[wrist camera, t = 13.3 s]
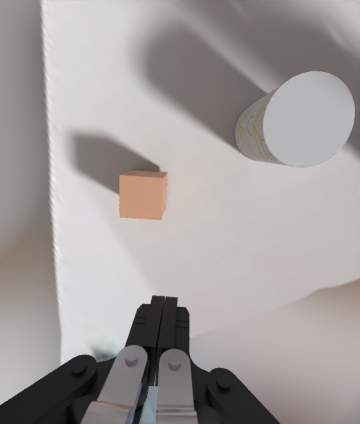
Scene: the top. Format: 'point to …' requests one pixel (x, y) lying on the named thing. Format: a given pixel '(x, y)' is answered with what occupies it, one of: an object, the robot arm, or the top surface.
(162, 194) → the tan cardboard box
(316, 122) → the white round cylinder
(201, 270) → the top surface
